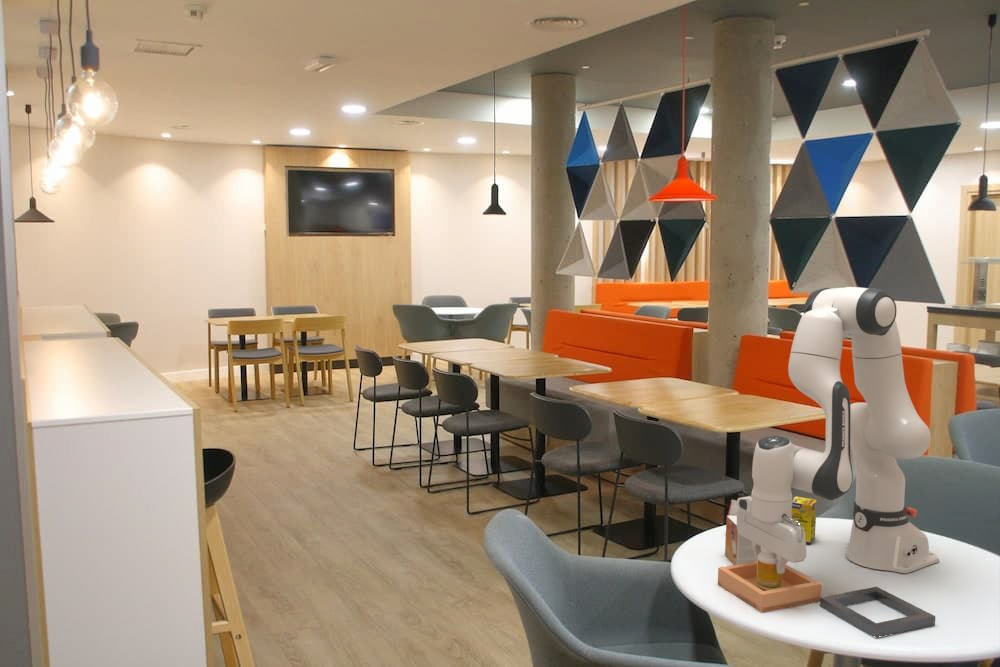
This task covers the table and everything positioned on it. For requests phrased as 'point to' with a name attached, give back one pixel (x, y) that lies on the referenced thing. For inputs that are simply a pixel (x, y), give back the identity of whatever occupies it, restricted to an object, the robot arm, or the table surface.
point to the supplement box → (805, 516)
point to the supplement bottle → (767, 570)
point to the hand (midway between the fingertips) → (769, 567)
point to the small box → (737, 544)
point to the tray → (790, 594)
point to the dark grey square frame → (915, 615)
